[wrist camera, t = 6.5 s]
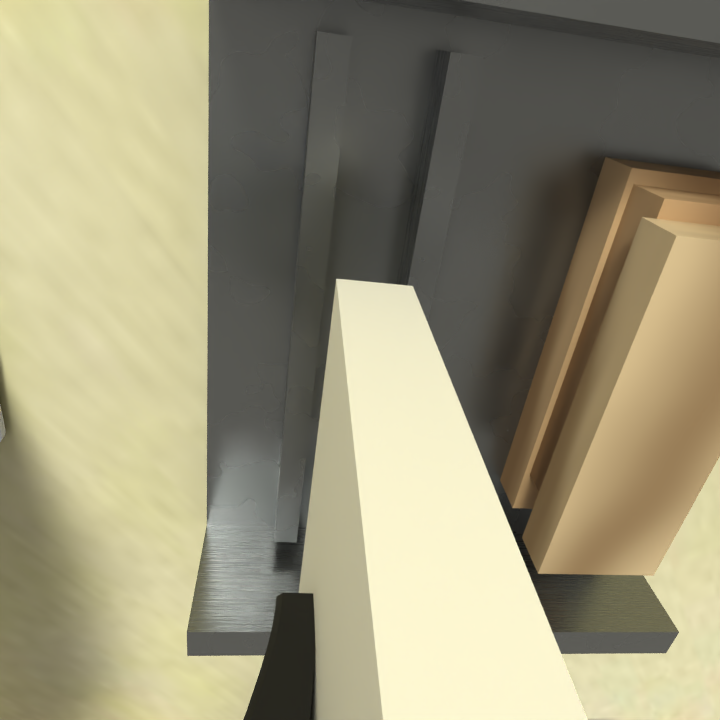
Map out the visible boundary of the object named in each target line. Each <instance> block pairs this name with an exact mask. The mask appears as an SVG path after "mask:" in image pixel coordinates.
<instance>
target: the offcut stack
mask: <svg viewBox="0 0 720 720" xmlns="http://www.w3.org/2000/svg"><path fill="white" fill-rule="evenodd" d="M719 456H720V172H715V171H708V170H700V169H693V168H685V167H677V166H670V165H662V164H654V163H647V162H639V161H631V160H624V159H616V158H608V157H605V160H604V163H603V166H602V169H601V172H600V175H599V178H598V181H597V184H596V188H595V191H594V194H593V197H592V200H591V203H590V206H589V209H588V212H587V215H586V218H585V221H584V224H583V227H582V230H581V234H580V237H579V240H578V243H577V246H576V249H575V252H574V255H573V258H572V261H571V264H570V267H569V270H568V273H567V276H566V279H565V283H564V286H563V289H562V292H561V295H560V298H559V301H558V304H557V307H556V310H555V313H554V316H553V319H552V322H551V325H550V328H549V332H548V335H547V338H546V341H545V344H544V347H543V350H542V353H541V356H540V359H539V362H538V365H537V368H536V371H535V374H534V377H533V381H532V384H531V387H530V390H529V393H528V396H527V399H526V402H525V405H524V408H523V411H522V414H521V417H520V420H519V423H518V427H517V430H516V433H515V436H514V439H513V442H512V445H511V448H510V451H509V454H508V457H507V460H506V463H505V466H504V469H503V472H502V476H501V479H500V481H501V483H502V486H503V488H504V490H505V492H506V495H507V497H508V499H509V501H510V503H511V506H512V508H526V509H532V512H531V515H530V518H529V520H528V523H527V526H526V528H525V531H524V534H523V536H522V539H523V541H524V543H525V545H526V548H527V550H528V552H529V554H530V557H531V559H532V561H533V563H534V566H535V568H536V570H537V572H538V574H590V575H651V576H654V574H655V572H656V570H657V568H658V567H659V565H660V563H661V561H662V559H663V557H664V556H665V554H666V552H667V550H668V548H669V547H670V545H671V543H672V541H673V539H674V538H675V536H676V534H677V532H678V530H679V529H680V527H681V525H682V523H683V521H684V520H685V518H686V516H687V514H688V512H689V510H690V509H691V507H692V505H693V503H694V501H695V500H696V498H697V496H698V494H699V492H700V491H701V489H702V487H703V485H704V483H705V482H706V480H707V478H708V476H709V474H710V473H711V471H712V469H713V467H714V465H715V464H716V462H717V460H718V458H719Z"/></svg>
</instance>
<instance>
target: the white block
mask: <svg viewBox="0 0 720 720" xmlns="http://www.w3.org/2000/svg"><path fill="white" fill-rule="evenodd" d="M299 593H313V598H314V618H315V647H316V651H315V664H314V677H313V689H312V702H311V714H310V720H588V719H587V717H586V714H585V712H584V709H583V707H582V704H581V702H580V699H579V697H578V694H577V692H576V689H575V687H574V684H573V682H572V679H571V677H570V674H569V672H568V669H567V667H566V664H565V662H564V660H563V657H562V655H561V652H560V650H559V647H558V645H557V642H556V640H555V637H554V635H553V632H552V630H551V627H550V625H549V622H548V620H547V617H546V615H545V612H544V610H543V607H542V605H541V603H540V600H539V598H538V595H537V593H536V590H535V588H534V585H533V583H532V580H531V578H530V575H529V573H528V570H527V568H526V565H525V563H524V560H523V558H522V555H521V553H520V550H519V548H518V545H517V543H516V541H515V538H514V536H513V533H512V531H511V528H510V526H509V523H508V521H507V518H506V516H505V513H504V511H503V508H502V506H501V503H500V501H499V498H498V496H497V493H496V491H495V488H494V486H493V484H492V481H491V479H490V476H489V474H488V471H487V469H486V466H485V464H484V461H483V459H482V456H481V454H480V451H479V449H478V446H477V444H476V441H475V439H474V436H473V434H472V431H471V429H470V427H469V424H468V422H467V419H466V417H465V414H464V412H463V409H462V407H461V404H460V402H459V399H458V397H457V394H456V392H455V389H454V387H453V384H452V382H451V379H450V377H449V374H448V372H447V370H446V367H445V365H444V362H443V360H442V357H441V355H440V352H439V350H438V347H437V345H436V342H435V340H434V337H433V335H432V332H431V330H430V327H429V325H428V322H427V320H426V317H425V315H424V313H423V310H422V308H421V305H420V303H419V300H418V298H417V295H416V293H415V290H414V288H413V286H407V285H397V284H387V283H376V282H366V281H356V280H345V279H336V286H335V294H334V302H333V311H332V319H331V327H330V335H329V344H328V352H327V360H326V369H325V377H324V385H323V394H322V402H321V410H320V419H319V427H318V435H317V444H316V452H315V460H314V469H313V477H312V485H311V494H310V502H309V510H308V518H307V527H306V535H305V543H304V552H303V560H302V568H301V577H300V585H299Z"/></svg>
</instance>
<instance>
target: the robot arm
mask: <svg viewBox="0 0 720 720" xmlns="http://www.w3.org/2000/svg"><path fill="white" fill-rule="evenodd" d="M5 433H6V430H5V425H4V420H3V415H2V411H1V406H0V442H1V440H2V439H3V438H4V436H5ZM315 651H316V647H315V618H314V598H313V593H281V594H280V595H278V596H276V605H275V613H274V619H273V624H272V629H271V633H270V638H269V642H268V646H267V649H266V653H265V656H264V660H263V663H262V667H261V670H260V673H259V676H258V679H257V682H256V685H255V688H254V691H253V694H252V697H251V700H250V703H249V706H248V709H247V712H246V714H245V717H244V720H310V714H311V702H312V689H313V677H314V664H315Z"/></svg>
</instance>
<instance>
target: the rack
mask: <svg viewBox="0 0 720 720" xmlns="http://www.w3.org/2000/svg"><path fill="white" fill-rule="evenodd" d="M605 157H608V158H616V159H624V160H631V161H639V162H647V163H654V164H662V165H670V166H677V167H685V168H693V169H700V170H708V171H715V172H720V0H209V151H208V387H207V527H206V533H205V538H204V543H203V549H202V554H201V560H200V565H199V570H198V576H197V581H196V586H195V592H194V597H193V602H192V608H191V613H190V619H189V624H188V629H187V655H188V656H220V655H265V653H266V649H267V646H268V642H269V638H270V633H271V629H272V624H273V619H274V613H275V605H276V596H278V595H280V594H281V593H299V585H300V577H301V568H302V560H303V552H304V543H305V535H306V527H307V518H308V510H309V502H310V494H311V485H312V477H313V469H314V460H315V452H316V444H317V435H318V427H319V419H320V410H321V402H322V394H323V385H324V377H325V369H326V360H327V352H328V344H329V335H330V327H331V319H332V311H333V302H334V294H335V286H336V279H345V280H356V281H366V282H376V283H387V284H397V285H407V286H413V288H414V290H415V293H416V295H417V298H418V300H419V303H420V305H421V308H422V310H423V313H424V315H425V317H426V320H427V322H428V325H429V327H430V330H431V332H432V335H433V337H434V340H435V342H436V345H437V347H438V350H439V352H440V355H441V357H442V360H443V362H444V365H445V367H446V370H447V372H448V374H449V377H450V379H451V382H452V384H453V387H454V389H455V392H456V394H457V397H458V399H459V402H460V404H461V407H462V409H463V412H464V414H465V417H466V419H467V422H468V424H469V427H470V429H471V431H472V434H473V436H474V439H475V441H476V444H477V446H478V449H479V451H480V454H481V456H482V459H483V461H484V464H485V466H486V469H487V471H488V474H489V476H490V479H491V481H492V484H493V486H494V488H495V491H496V493H497V496H498V498H499V501H500V503H501V506H502V508H503V511H504V513H505V516H506V518H507V521H508V523H509V526H510V528H511V531H512V533H513V536H514V538H515V541H516V543H517V545H518V548H519V550H520V553H521V555H522V558H523V560H524V563H525V565H526V568H527V570H528V573H529V575H530V578H531V580H532V583H533V585H534V588H535V590H536V593H537V595H538V598H539V600H540V603H541V605H542V607H543V610H544V612H545V615H546V617H547V620H548V622H549V625H550V627H551V630H552V632H553V635H554V637H555V640H556V642H557V645H558V647H559V650H560V652H561V654H588V653H666V652H667V651H668V649H669V647H670V646H671V644H672V643H673V641H674V639H675V638H676V636H677V635H678V633H679V631H678V630H677V628H676V627H675V625H674V624H673V622H672V620H671V619H670V617H669V616H668V614H667V612H666V611H665V609H664V608H663V606H662V605H661V603H660V601H659V600H658V598H657V597H656V595H655V594H654V592H653V590H652V589H651V587H650V586H649V584H648V582H647V581H646V579H645V578H644V576H643V575H590V574H538V572H537V570H536V568H535V566H534V563H533V561H532V559H531V557H530V554H529V552H528V550H527V548H526V545H525V543H524V541H523V539H522V536H523V534H524V531H525V528H526V526H527V523H528V520H529V518H530V515H531V512H532V509H526V508H512V506H511V503H510V501H509V499H508V497H507V495H506V492H505V490H504V488H503V486H502V483H501V481H500V479H501V476H502V472H503V469H504V466H505V463H506V460H507V457H508V454H509V451H510V448H511V445H512V442H513V439H514V436H515V433H516V430H517V427H518V423H519V420H520V417H521V414H522V411H523V408H524V405H525V402H526V399H527V396H528V393H529V390H530V387H531V384H532V381H533V377H534V374H535V371H536V368H537V365H538V362H539V359H540V356H541V353H542V350H543V347H544V344H545V341H546V338H547V335H548V332H549V328H550V325H551V322H552V319H553V316H554V313H555V310H556V307H557V304H558V301H559V298H560V295H561V292H562V289H563V286H564V283H565V279H566V276H567V273H568V270H569V267H570V264H571V261H572V258H573V255H574V252H575V249H576V246H577V243H578V240H579V237H580V234H581V230H582V227H583V224H584V221H585V218H586V215H587V212H588V209H589V206H590V203H591V200H592V197H593V194H594V191H595V188H596V184H597V181H598V178H599V175H600V172H601V169H602V166H603V163H604V160H605Z"/></svg>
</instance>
